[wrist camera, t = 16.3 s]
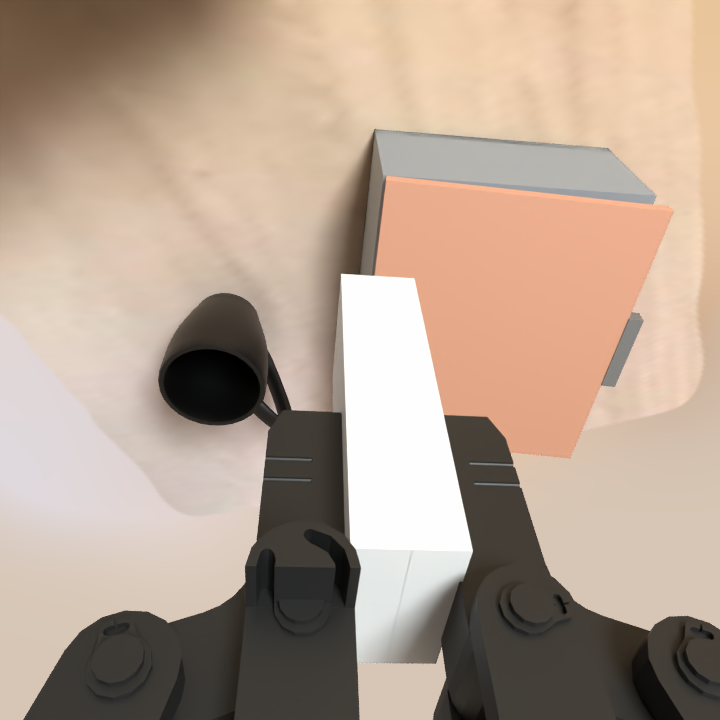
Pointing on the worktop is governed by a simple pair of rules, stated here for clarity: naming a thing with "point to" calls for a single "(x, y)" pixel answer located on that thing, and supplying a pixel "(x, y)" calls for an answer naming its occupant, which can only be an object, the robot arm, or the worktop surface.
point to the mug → (221, 365)
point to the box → (493, 171)
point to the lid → (521, 298)
